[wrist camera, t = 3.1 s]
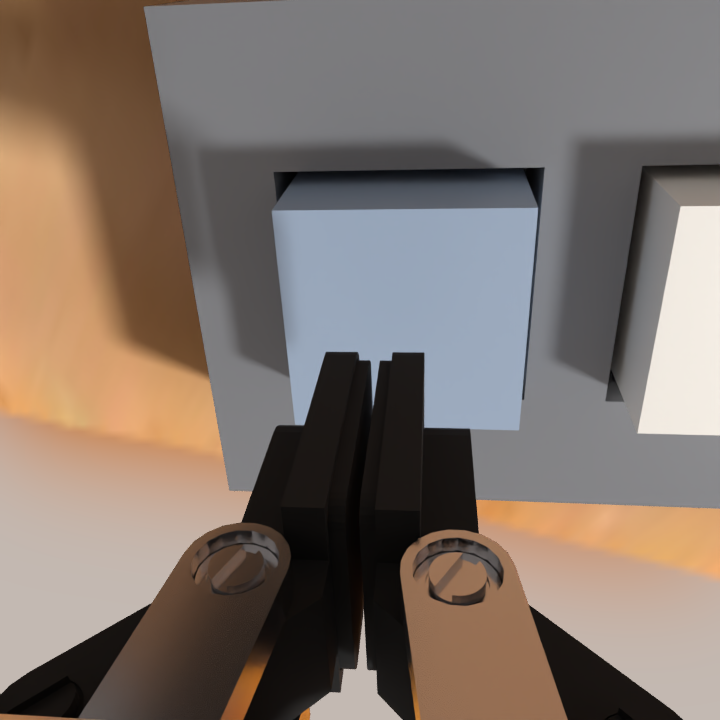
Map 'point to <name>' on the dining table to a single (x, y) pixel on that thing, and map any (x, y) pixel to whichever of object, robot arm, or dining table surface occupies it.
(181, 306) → the dining table surface
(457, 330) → the slate blue key
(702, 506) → the key panel
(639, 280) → the off white key
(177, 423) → the dining table surface
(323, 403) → the robot arm
